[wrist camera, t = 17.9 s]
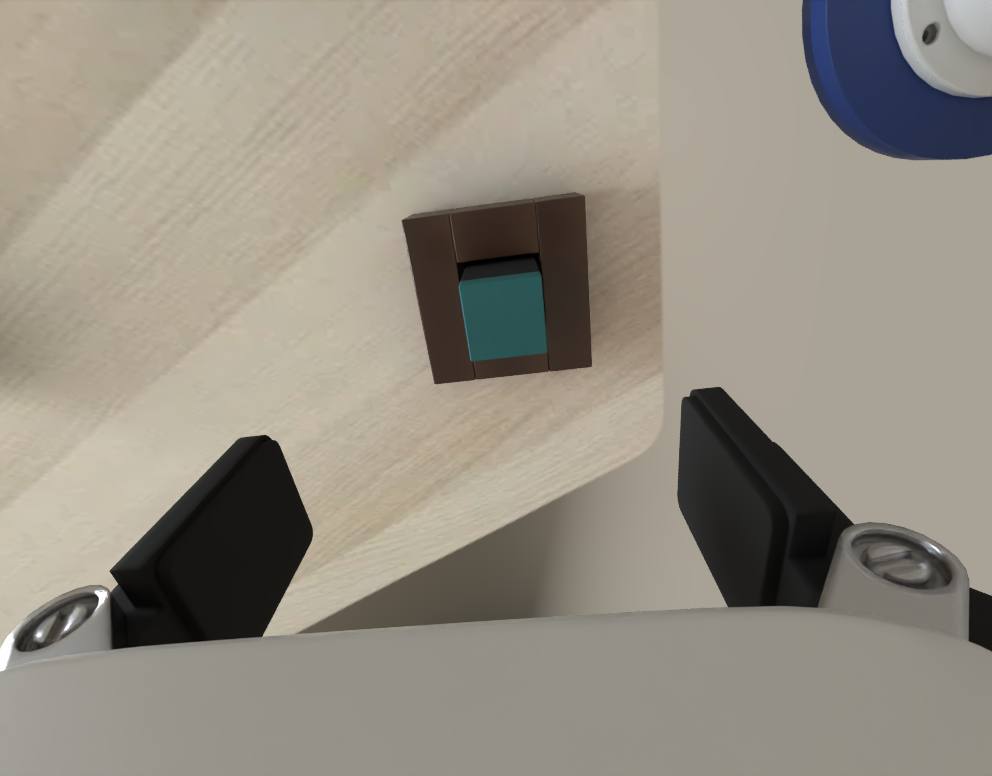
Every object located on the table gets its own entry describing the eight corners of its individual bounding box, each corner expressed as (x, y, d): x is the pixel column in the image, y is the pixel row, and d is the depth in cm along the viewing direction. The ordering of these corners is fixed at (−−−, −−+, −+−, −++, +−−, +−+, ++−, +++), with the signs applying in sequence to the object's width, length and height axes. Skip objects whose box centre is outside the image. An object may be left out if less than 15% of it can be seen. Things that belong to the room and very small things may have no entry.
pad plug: (532, 250, 27) (541, 275, 21) (537, 312, 29) (548, 353, 22) (468, 258, 27) (458, 285, 21) (477, 319, 29) (470, 362, 23)
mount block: (576, 191, 26) (585, 195, 23) (584, 349, 30) (592, 367, 27) (411, 214, 26) (400, 220, 24) (440, 365, 30) (434, 384, 28)
